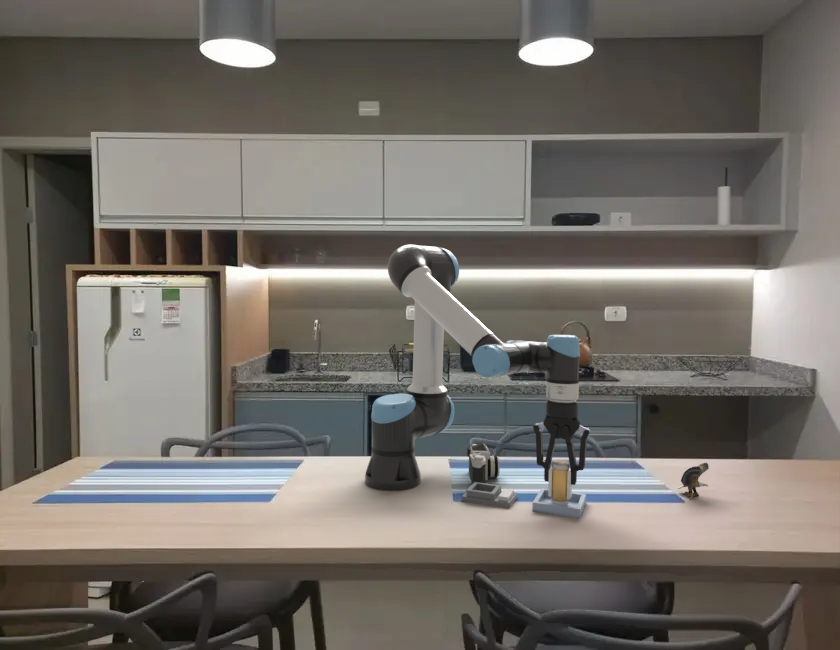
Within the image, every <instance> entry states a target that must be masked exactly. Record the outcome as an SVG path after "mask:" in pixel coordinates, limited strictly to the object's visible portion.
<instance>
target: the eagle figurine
mask: <svg viewBox="0 0 840 650" xmlns="http://www.w3.org/2000/svg"><path fill="white" fill-rule="evenodd" d="M709 469H710V468H709V463H708V462H703V463H700V464H698V465H697V466H692V467H689V468H688V469H686V470H685V471H684V472H683V474H682V476H681V480H680V482H681V484H682V485H681V486H678V487H677V490H679V489H682V488H687V491H685V492H684V493H682V495H683V496H684V495H685V497H688V498H689V499H688V501H691V499H692V500H693V499H694V497H696V496H700V494H699V493H698V491H697V489H696V488H700V487H709V485H708V484H707V483H705V482H701V481H699V478H700V477H701V476H702V475H703V474H704V473H706V472H707V471H708V470H709Z"/></svg>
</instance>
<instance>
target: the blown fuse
mask: <svg viewBox="0 0 840 650" xmlns="http://www.w3.org/2000/svg"><path fill="white" fill-rule="evenodd" d="M551 467H552V468H553V473H552V498H551V504H558V505H565V506H568V499H567V472H568V471H569V469H570V463H569V461H564V460H552V461H551Z"/></svg>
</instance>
